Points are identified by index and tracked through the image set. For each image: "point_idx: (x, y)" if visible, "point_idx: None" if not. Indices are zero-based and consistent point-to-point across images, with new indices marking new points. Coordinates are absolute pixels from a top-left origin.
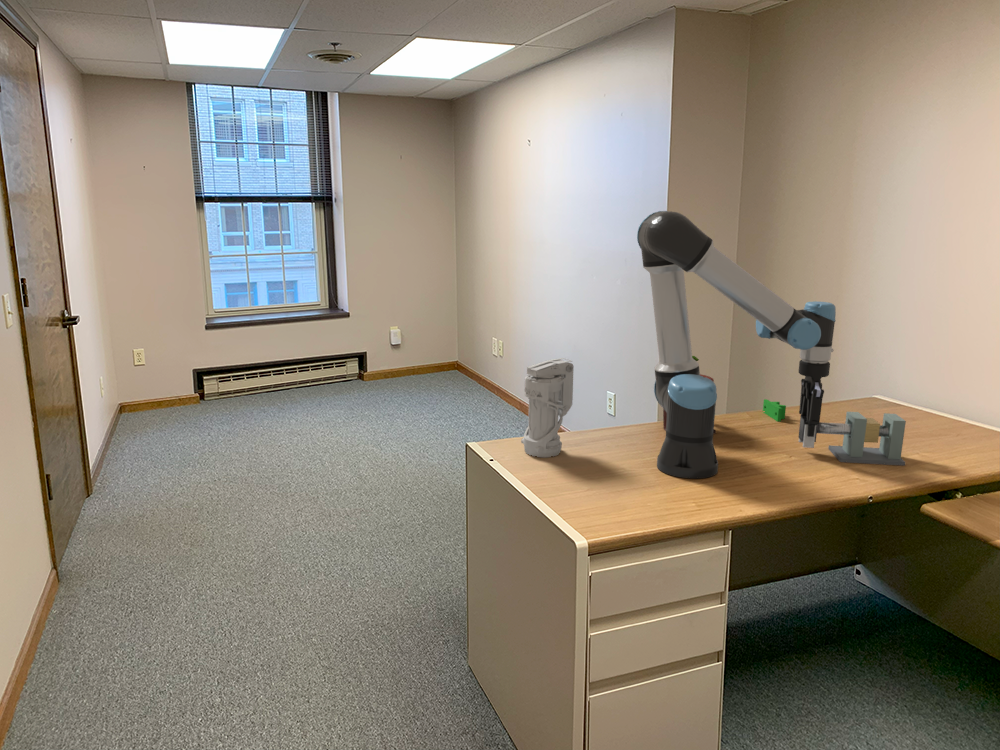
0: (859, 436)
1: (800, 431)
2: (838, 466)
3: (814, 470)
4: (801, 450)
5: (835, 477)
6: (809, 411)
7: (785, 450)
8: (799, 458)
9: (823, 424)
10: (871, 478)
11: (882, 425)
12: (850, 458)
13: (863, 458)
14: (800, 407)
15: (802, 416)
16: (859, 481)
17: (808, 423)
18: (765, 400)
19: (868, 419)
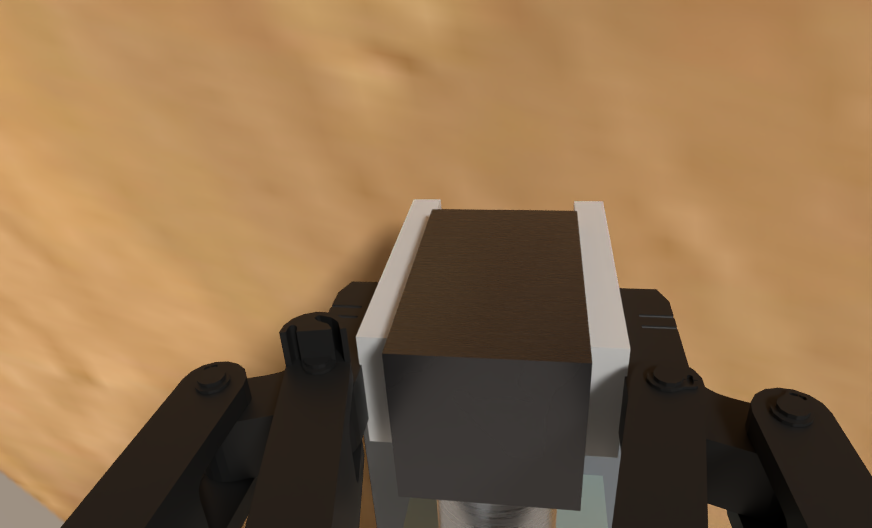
0: None
1: (514, 250)
2: (269, 347)
3: (114, 174)
4: (601, 197)
5: (38, 270)
6: (256, 507)
7: (583, 50)
8: (369, 129)
9: (456, 509)
10: (124, 441)
11: None
12: (377, 451)
13: (397, 513)
14: (803, 476)
15: (587, 384)
16: (40, 373)
17: (291, 367)
18: None
19: None
